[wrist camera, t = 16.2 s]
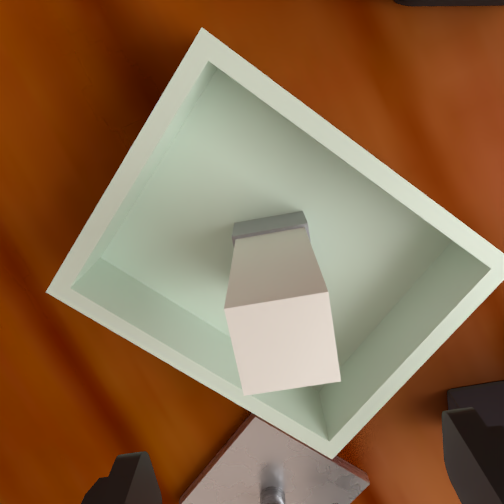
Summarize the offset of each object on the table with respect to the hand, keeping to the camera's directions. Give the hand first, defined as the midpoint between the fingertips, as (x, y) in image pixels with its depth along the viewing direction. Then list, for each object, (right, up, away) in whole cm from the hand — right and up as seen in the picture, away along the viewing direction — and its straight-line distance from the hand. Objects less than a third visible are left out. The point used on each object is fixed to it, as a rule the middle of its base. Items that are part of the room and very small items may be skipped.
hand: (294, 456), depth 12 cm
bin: (0, +6, +18) cm, 19 cm away
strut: (0, +6, +17) cm, 18 cm away
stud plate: (0, -14, +24) cm, 28 cm away
